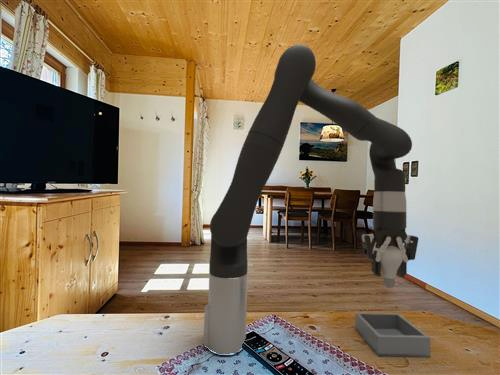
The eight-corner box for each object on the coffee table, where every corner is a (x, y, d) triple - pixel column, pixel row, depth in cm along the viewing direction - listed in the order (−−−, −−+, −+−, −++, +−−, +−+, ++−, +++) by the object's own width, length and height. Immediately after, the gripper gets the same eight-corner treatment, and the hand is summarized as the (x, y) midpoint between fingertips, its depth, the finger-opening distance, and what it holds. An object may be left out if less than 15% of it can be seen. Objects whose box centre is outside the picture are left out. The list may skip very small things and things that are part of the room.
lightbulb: (395, 284, 66) (395, 242, 67) (407, 292, 60) (407, 246, 61) (371, 282, 67) (371, 241, 68) (381, 291, 61) (381, 245, 61)
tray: (378, 356, 57) (378, 336, 57) (355, 328, 69) (355, 312, 69) (430, 357, 57) (430, 337, 58) (398, 329, 69) (398, 313, 70)
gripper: (368, 209, 61) (368, 280, 60) (427, 211, 61) (427, 281, 60) (355, 208, 68) (354, 271, 67) (407, 209, 68) (407, 272, 68)
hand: (389, 275), depth 64 cm, fingers closed on lightbulb, 5 cm apart
